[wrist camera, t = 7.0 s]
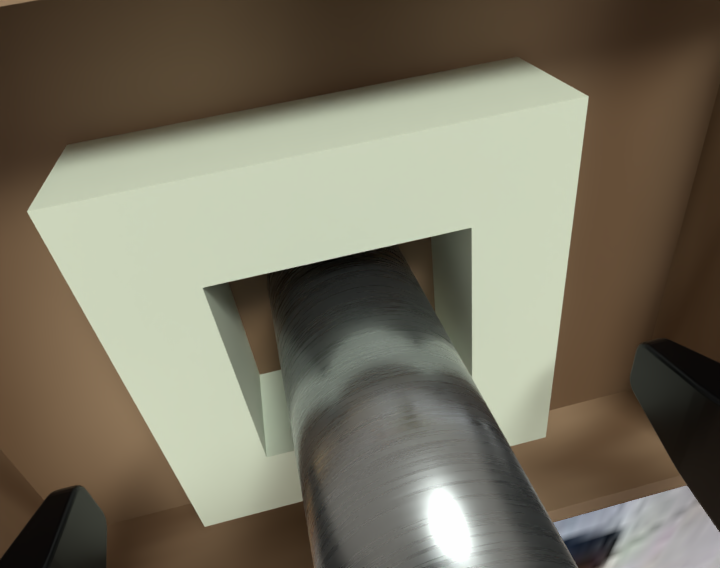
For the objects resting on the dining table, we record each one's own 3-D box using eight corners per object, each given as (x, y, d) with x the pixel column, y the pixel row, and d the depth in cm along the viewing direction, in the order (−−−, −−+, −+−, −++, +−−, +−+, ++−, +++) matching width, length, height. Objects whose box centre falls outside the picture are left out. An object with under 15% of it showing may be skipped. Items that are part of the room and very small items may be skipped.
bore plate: (517, 56, 10) (588, 96, 8) (503, 366, 15) (545, 437, 13) (66, 144, 9) (26, 211, 7) (206, 440, 14) (204, 526, 12)
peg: (397, 202, 11) (655, 610, 5) (408, 314, 13) (606, 718, 7) (251, 236, 11) (321, 722, 4) (284, 346, 13) (367, 804, 6)
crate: (797, -198, 9) (1054, -236, 6) (641, 382, 17) (721, 475, 15) (-400, -8, 7) (-769, 54, 5) (65, 530, 16) (31, 667, 13)
